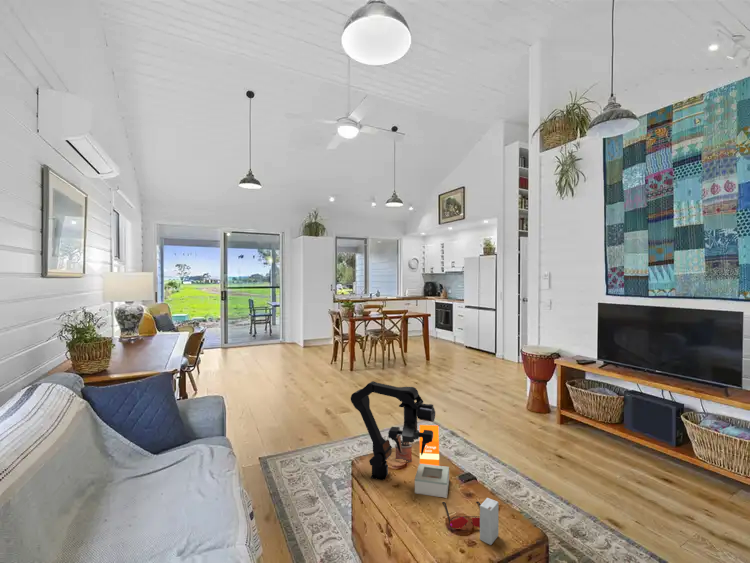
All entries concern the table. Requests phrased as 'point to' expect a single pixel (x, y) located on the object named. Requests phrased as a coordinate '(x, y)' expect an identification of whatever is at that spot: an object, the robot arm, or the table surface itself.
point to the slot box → (432, 480)
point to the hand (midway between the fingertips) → (411, 453)
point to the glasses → (463, 520)
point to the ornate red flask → (404, 451)
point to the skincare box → (489, 521)
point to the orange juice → (430, 446)
